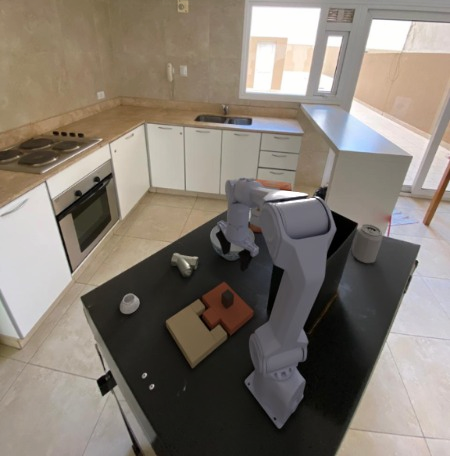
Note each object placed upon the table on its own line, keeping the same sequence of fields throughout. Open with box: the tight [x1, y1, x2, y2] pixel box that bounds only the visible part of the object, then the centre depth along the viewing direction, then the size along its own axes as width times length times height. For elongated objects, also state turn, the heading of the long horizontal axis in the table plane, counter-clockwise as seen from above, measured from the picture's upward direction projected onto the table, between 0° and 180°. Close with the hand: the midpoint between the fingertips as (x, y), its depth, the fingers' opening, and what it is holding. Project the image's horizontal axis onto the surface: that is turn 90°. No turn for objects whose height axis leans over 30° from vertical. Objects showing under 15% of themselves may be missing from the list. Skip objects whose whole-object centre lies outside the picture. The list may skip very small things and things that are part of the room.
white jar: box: [119, 293, 141, 315], centre depth 68 cm, size 5×3×5 cm
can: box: [351, 223, 384, 264], centre depth 87 cm, size 8×8×12 cm
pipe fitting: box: [170, 252, 199, 278], centre depth 80 cm, size 8×4×7 cm
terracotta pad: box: [201, 281, 254, 336], centre depth 67 cm, size 12×11×6 cm
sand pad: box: [165, 298, 228, 369], centre depth 62 cm, size 12×10×2 cm
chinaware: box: [209, 221, 255, 261], centre depth 87 cm, size 15×15×8 cm
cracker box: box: [248, 178, 293, 234], centre depth 98 cm, size 14×6×21 cm, turn 80°
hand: (234, 260), depth 71 cm, fingers open, 7 cm apart
